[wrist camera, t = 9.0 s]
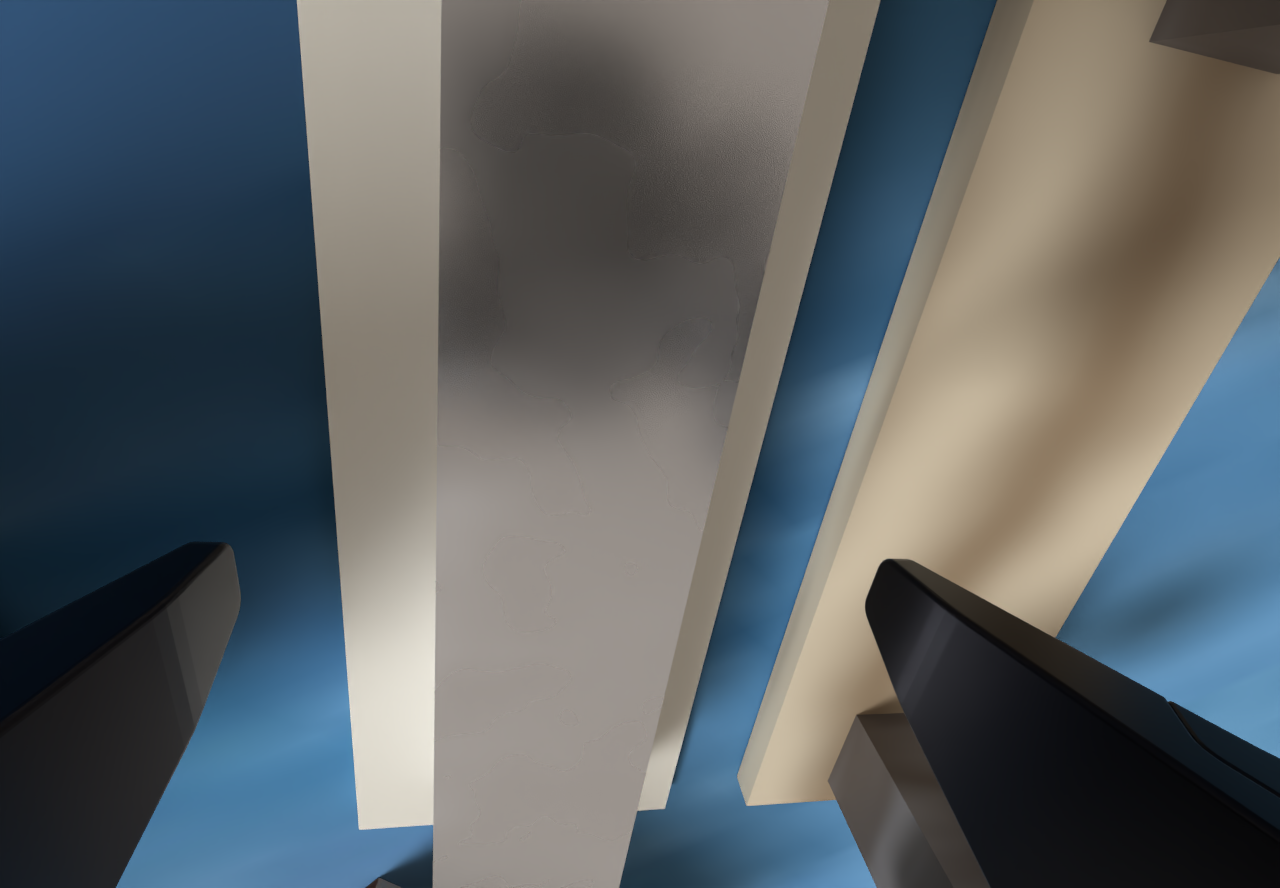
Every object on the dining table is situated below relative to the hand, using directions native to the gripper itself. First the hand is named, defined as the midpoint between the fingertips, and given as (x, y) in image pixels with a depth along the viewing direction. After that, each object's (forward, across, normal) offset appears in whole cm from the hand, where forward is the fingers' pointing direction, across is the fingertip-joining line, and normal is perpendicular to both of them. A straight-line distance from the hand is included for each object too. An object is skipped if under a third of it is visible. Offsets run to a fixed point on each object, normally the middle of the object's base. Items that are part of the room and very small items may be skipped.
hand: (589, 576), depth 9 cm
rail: (+5, 0, 0) cm, 5 cm away
